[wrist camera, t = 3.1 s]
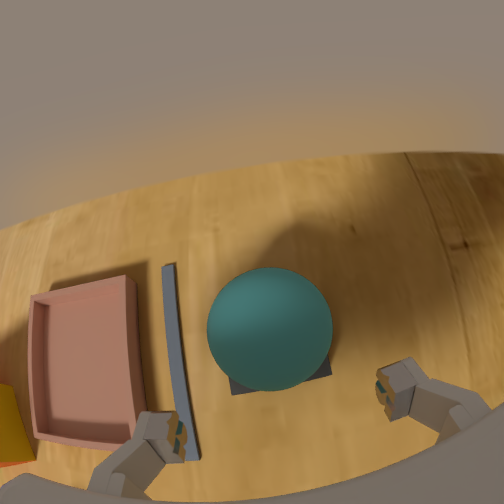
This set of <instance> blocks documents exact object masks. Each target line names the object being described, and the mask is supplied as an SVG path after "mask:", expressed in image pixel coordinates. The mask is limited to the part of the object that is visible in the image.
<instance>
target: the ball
mask: <svg viewBox="0 0 504 504" xmlns="http://www.w3.org/2000/svg"><path fill="white" fill-rule="evenodd" d="M332 335H333V323H332V317H331V312H330V309H329V307H328V304H327V302H326V300H325V298H324V297H323V295H322V294H321V292H320V291H319V290H318V289H317V288H316V286H315V285H313V284H312V283H311V282H310V281H309V280H307V279H306V278H304V277H303V276H301V275H299V274H297V273H295V272H293V271H290V270H286V269H282V268H273V267H270V268H259V269H255V270H251V271H248V272H246V273H243V274H241V275H239V276H238V277H236V278H234V279H233V280H232V281H230V282H229V283H228V284H227V285H226V286H225V287H224V288H223V289H222V290H221V291H220V293H219V294H218V296H217V297H216V299H215V300H214V303H213V305H212V307H211V310H210V313H209V316H208V321H207V338H208V343H209V347H210V350H211V353H212V355H213V357H214V359H215V361H216V363H217V364H218V365H219V367H220V368H221V369H222V370H223V372H224V373H225V374H226V375H228V376H229V377H230V378H231V379H233V380H234V381H236V382H237V383H239V384H241V385H243V386H245V387H248V388H251V389H255V390H260V391H279V390H284V389H288V388H291V387H294V386H296V385H298V384H300V383H302V382H303V381H305V380H306V379H308V378H309V377H310V376H311V375H313V374H314V373H315V372H316V370H317V369H318V368H319V367H320V366H321V364H322V363H323V361H324V359H325V358H326V356H327V354H328V351H329V348H330V346H331V341H332Z"/></svg>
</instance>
